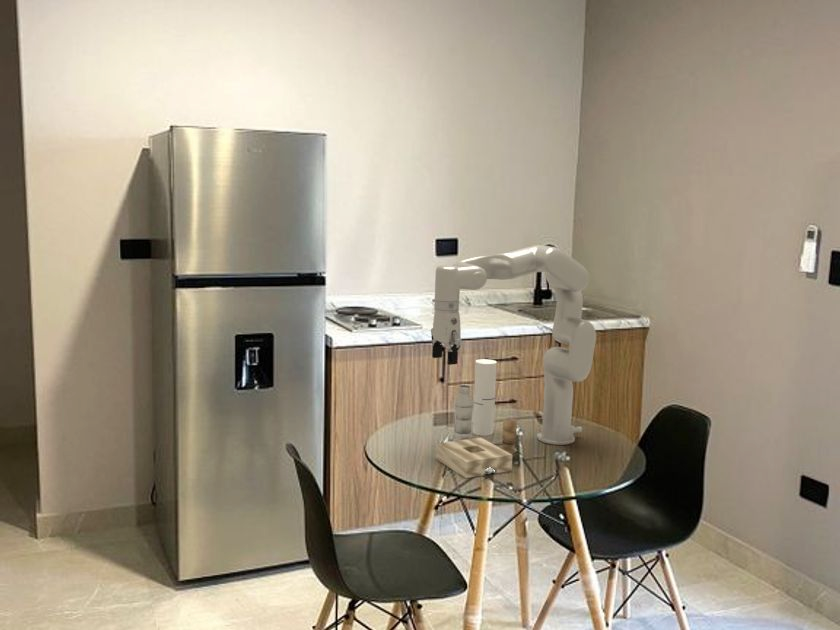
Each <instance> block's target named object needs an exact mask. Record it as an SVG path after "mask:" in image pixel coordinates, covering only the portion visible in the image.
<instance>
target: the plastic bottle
mask: <svg viewBox="0 0 840 630" xmlns="http://www.w3.org/2000/svg"><path fill="white" fill-rule="evenodd" d="M458 392H459V393H458V394H457V396H455V399H454V401H453V402H454V413H455V417H454V418H455V420H454V421H455V423H454V430H453V433H452V434H453V435H452V441H460V440H467V439H474V438H473V427H472V420H473V410H474V398H473V396H471V394H470V393H471V386H470V385H466V384H461V385H459V387H458Z"/></svg>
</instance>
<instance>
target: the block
mask: <svg viewBox="0 0 840 630" xmlns="http://www.w3.org/2000/svg"><path fill="white" fill-rule="evenodd" d="M435 460H437V461H439V462H441V463H442V464H444V465H445V466H446V467H448V468H449V469H451V470H453V471H454V472H455V473H457V474H459V475H460V476H462V477H463V478H465V479H468V478H469V479H470V478H475V477H481V476H484V475H483V472H484V471H485V469H487V468H489V467H491V468H493V469H494V470H495V474H500V473H501V474H502V473H508V472H512V471H513V470H512V468H513V459H512V454H510V453H508V452H506V451H504V450H503V448H501V447H499V446H498V445H495V444H494V443H491V442H490V441H488V440H486V439H484V438H483V437H476V438H473V439H467V440H460V441H453V440H452V441H446V442H440V443H437V444H436V459H435Z"/></svg>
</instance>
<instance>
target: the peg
mask: <svg viewBox="0 0 840 630" xmlns="http://www.w3.org/2000/svg"><path fill="white" fill-rule="evenodd" d="M517 424H518V422H517V420H516V418H508V417H507V418H504V419H503V420H502V441H501V443H502V449H503V450H504V451H506V452H508V453H510V454H512V460H513V459H515V448H516V447H515V445H516V444H517V441H516V440H517V427H518V426H517Z"/></svg>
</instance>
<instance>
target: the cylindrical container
mask: <svg viewBox="0 0 840 630" xmlns="http://www.w3.org/2000/svg"><path fill="white" fill-rule="evenodd" d="M497 363H498V361H496V360H494V359H486V358H483V359H482V358H481V359H475V367H474V368H475V371H474V389H473V401H474V406H473V412H472V434H474V435H477V436H483V437H484V436H491V435H493V434H494V425H495V424H494V423H495V406H496V403H495V402H496V383H497V382H496V381H497Z"/></svg>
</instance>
